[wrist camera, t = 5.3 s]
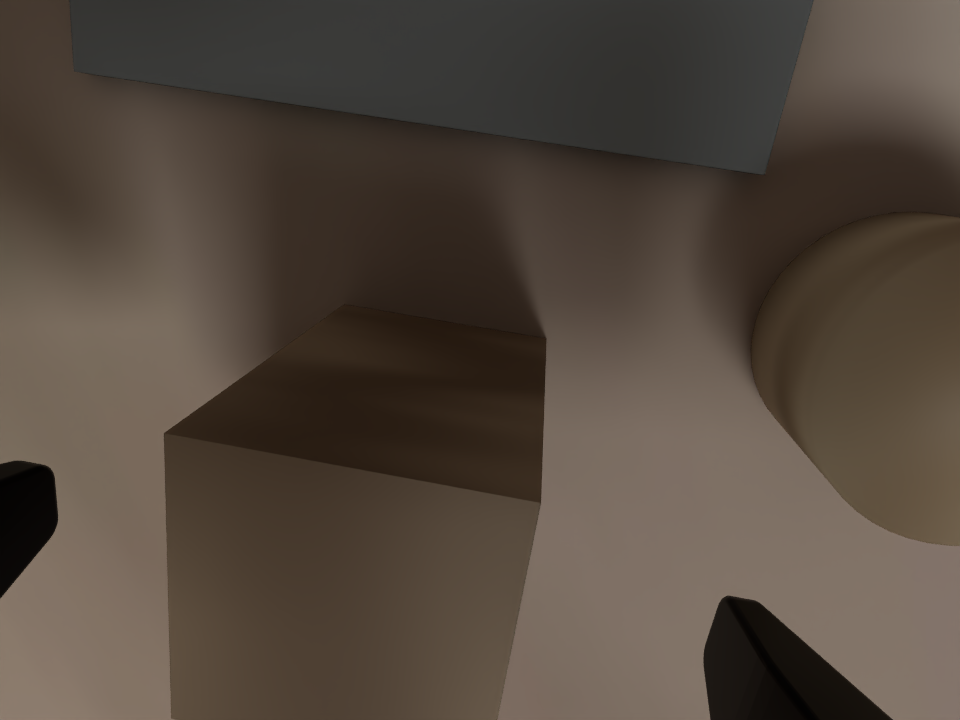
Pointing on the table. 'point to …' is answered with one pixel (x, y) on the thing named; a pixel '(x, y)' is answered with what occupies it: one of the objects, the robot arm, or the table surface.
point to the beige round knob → (873, 367)
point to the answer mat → (481, 64)
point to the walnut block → (356, 524)
